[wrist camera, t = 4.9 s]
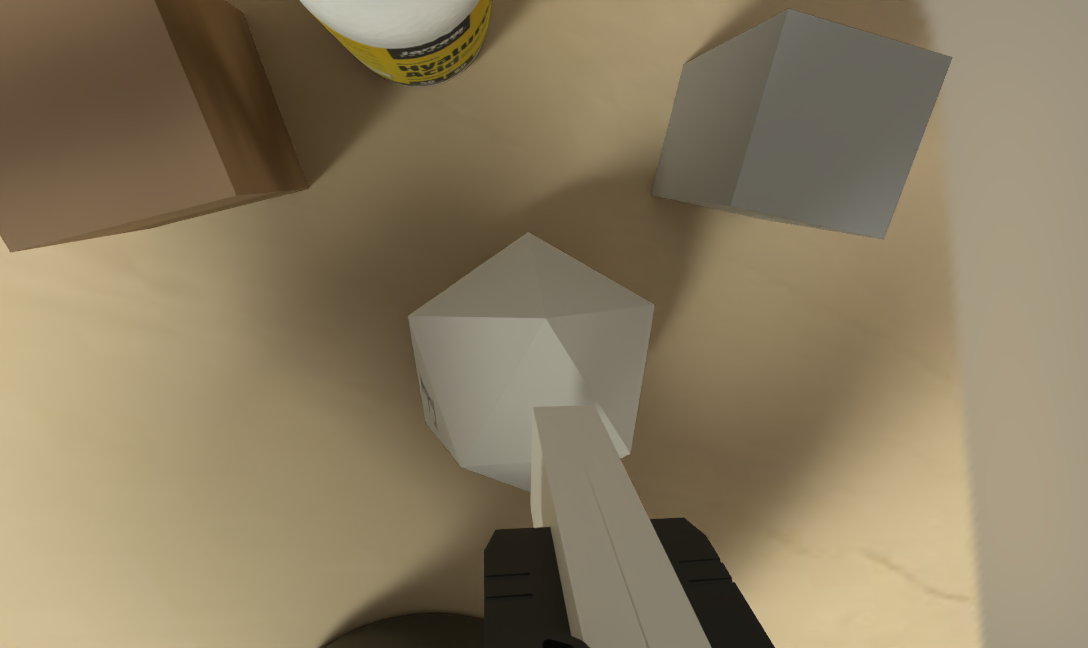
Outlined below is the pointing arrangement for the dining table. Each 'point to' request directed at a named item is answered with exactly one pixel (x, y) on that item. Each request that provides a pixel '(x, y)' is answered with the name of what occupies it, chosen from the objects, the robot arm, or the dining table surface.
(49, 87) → the walnut block
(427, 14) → the supplement bottle
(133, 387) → the dining table surface
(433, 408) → the die
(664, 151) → the grey block
